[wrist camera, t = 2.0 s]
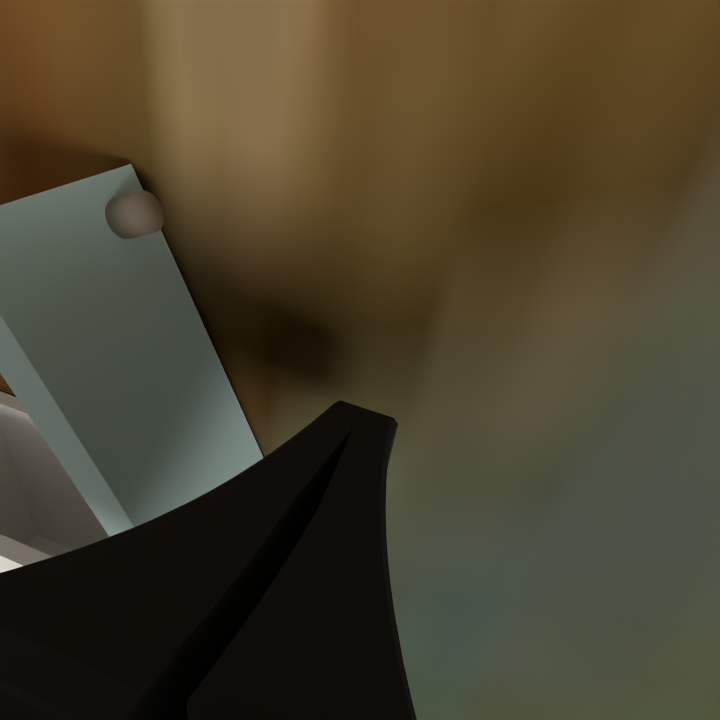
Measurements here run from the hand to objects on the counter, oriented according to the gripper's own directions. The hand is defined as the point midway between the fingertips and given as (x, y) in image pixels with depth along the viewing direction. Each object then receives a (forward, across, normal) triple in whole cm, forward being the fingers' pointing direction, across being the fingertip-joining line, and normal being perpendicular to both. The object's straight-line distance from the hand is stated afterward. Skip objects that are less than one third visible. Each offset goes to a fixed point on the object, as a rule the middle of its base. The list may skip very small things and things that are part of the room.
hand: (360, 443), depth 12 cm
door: (+2, +5, 0) cm, 5 cm away
